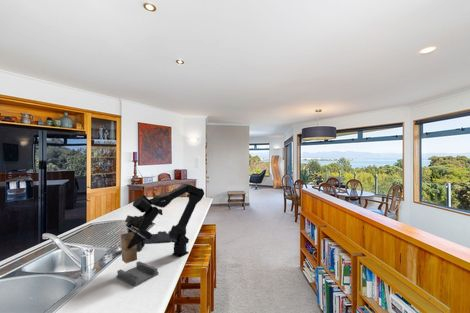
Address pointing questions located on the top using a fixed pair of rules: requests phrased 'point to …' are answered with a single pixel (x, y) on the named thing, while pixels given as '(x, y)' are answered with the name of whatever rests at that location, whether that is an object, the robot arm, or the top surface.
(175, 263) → the top surface
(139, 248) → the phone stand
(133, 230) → the robot arm
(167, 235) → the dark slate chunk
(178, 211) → the top surface
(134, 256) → the walnut block
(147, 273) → the bottom track
